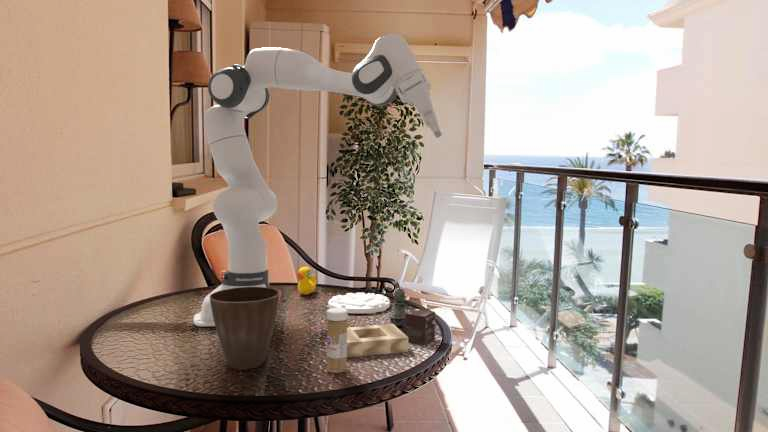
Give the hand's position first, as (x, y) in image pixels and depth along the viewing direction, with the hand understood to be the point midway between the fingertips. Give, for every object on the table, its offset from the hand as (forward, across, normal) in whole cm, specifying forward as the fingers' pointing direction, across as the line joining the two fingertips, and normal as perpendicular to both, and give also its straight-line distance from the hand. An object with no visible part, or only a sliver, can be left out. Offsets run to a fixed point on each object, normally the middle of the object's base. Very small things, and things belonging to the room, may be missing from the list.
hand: (438, 133), depth 135 cm
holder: (+40, +9, -40) cm, 58 cm away
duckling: (+20, -42, -67) cm, 82 cm away
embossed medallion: (+32, -28, -48) cm, 65 cm away
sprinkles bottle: (+40, +26, -44) cm, 65 cm away
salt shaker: (+42, -8, -35) cm, 55 cm away
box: (+46, +1, -30) cm, 55 cm away
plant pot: (+30, +26, -63) cm, 74 cm away
